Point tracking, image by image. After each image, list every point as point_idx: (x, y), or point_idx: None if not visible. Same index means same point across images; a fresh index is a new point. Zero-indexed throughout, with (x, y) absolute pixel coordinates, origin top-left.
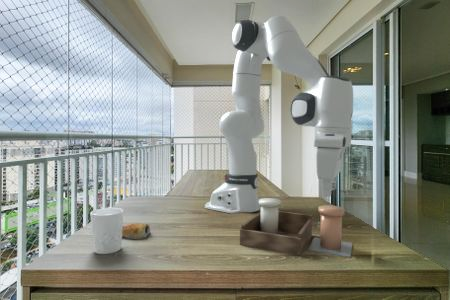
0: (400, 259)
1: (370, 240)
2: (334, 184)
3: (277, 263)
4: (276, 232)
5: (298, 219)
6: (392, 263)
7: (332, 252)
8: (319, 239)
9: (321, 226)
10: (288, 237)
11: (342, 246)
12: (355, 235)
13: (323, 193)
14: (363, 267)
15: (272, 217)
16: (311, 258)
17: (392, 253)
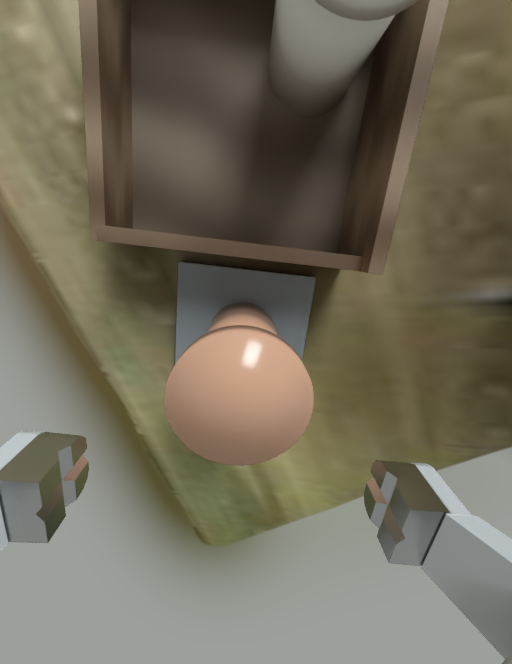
0: (234, 489)
1: (360, 441)
2: (388, 550)
3: (38, 165)
4: (293, 102)
5: (372, 199)
6: (199, 470)
7: (186, 340)
8: (297, 297)
9: (221, 323)
10: (88, 180)
11: None
12: (399, 406)
13: (11, 443)
14: (141, 410)
15: (286, 19)
16: (137, 276)
17: (269, 479)
